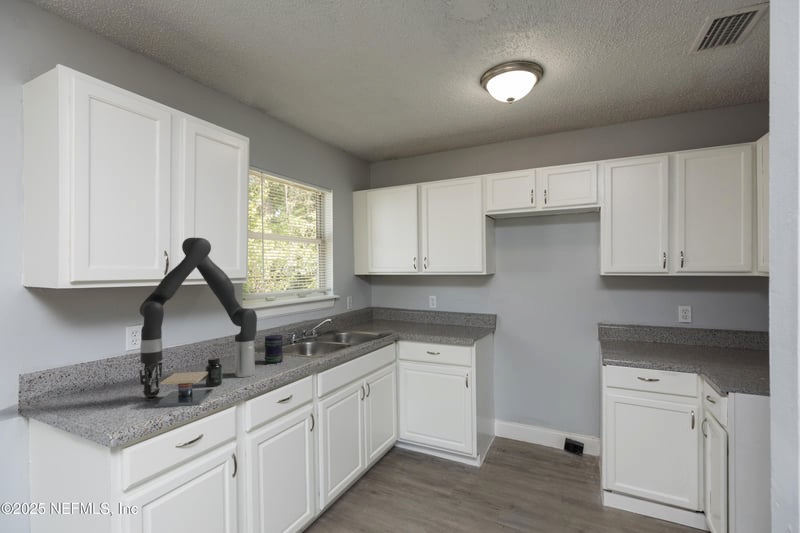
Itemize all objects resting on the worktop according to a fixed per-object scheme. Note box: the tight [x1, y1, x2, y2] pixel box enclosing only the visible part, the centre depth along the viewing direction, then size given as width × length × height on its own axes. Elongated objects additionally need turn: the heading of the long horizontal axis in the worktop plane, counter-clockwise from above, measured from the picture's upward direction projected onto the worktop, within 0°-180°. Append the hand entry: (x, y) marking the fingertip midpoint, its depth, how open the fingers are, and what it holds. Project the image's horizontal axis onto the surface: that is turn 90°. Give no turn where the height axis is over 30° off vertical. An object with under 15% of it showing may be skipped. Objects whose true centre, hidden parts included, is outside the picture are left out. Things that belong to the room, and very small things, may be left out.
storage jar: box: [264, 334, 284, 365], centre depth 216 cm, size 10×10×15 cm
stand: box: [154, 371, 214, 408], centre depth 154 cm, size 16×16×9 cm
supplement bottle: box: [204, 357, 223, 388], centre depth 174 cm, size 7×7×12 cm
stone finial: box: [142, 372, 161, 402], centre depth 155 cm, size 6×6×12 cm
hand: (151, 391), depth 155 cm, fingers closed on stone finial, 6 cm apart
